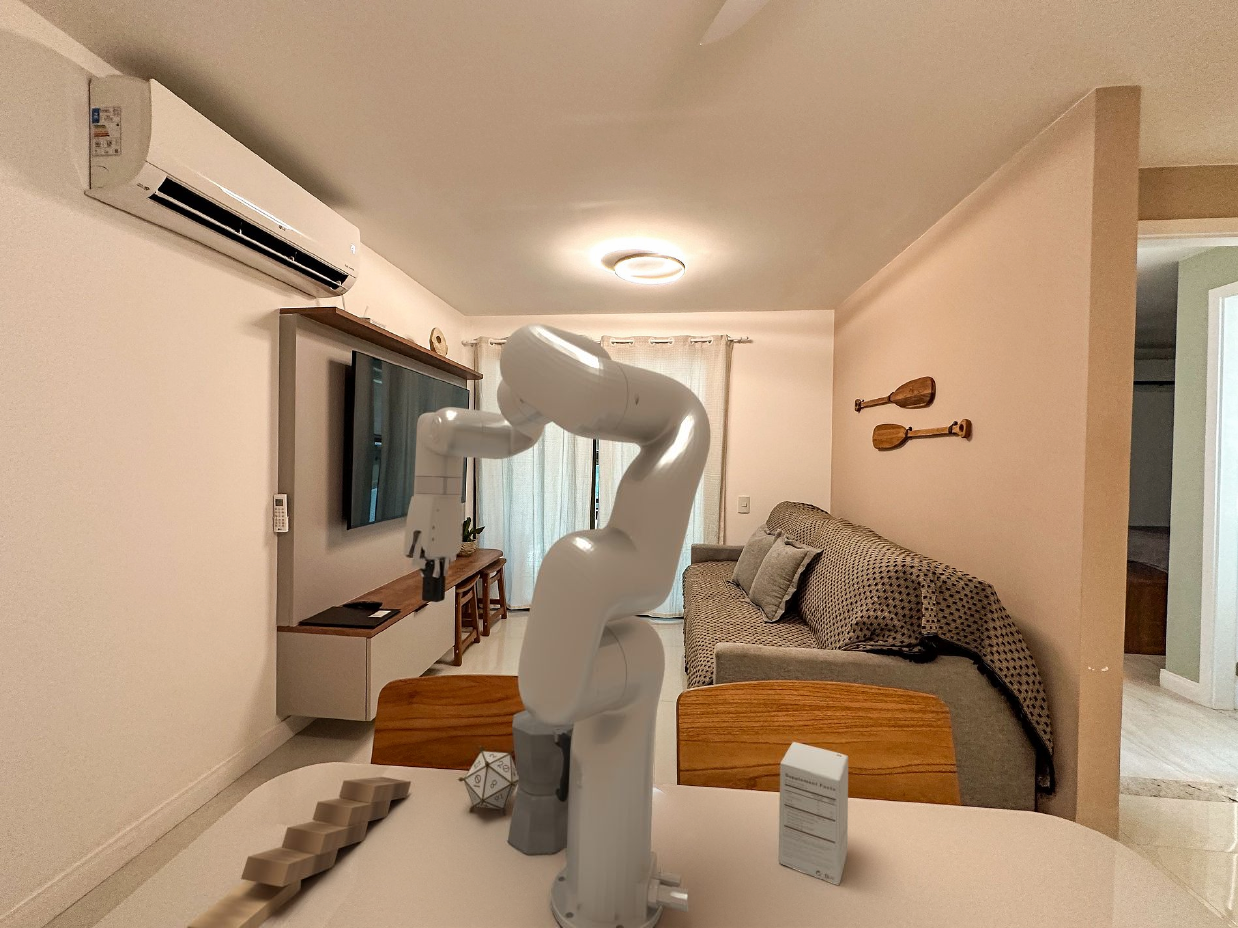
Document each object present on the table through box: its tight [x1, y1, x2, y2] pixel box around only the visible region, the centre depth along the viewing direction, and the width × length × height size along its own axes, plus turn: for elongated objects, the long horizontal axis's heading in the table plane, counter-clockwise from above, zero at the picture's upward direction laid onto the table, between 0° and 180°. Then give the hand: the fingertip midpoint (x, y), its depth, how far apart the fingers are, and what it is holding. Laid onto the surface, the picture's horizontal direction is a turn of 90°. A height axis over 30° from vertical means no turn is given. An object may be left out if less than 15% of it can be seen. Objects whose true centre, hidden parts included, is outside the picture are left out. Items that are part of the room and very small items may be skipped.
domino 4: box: [312, 797, 392, 826], centre depth 73 cm, size 5×2×9 cm
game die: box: [457, 744, 519, 816], centre depth 80 cm, size 9×8×10 cm
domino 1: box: [187, 879, 302, 928], centre depth 59 cm, size 5×2×9 cm
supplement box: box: [778, 741, 849, 886], centre depth 71 cm, size 7×7×13 cm
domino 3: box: [280, 820, 369, 855], centre depth 68 cm, size 5×2×9 cm
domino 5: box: [338, 776, 412, 803], centre depth 78 cm, size 5×2×9 cm
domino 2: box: [240, 846, 339, 887], centre depth 63 cm, size 5×2×9 cm
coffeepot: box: [507, 708, 574, 856], centre depth 73 cm, size 15×9×18 cm, turn 29°
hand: (433, 600), depth 90 cm, fingers closed
